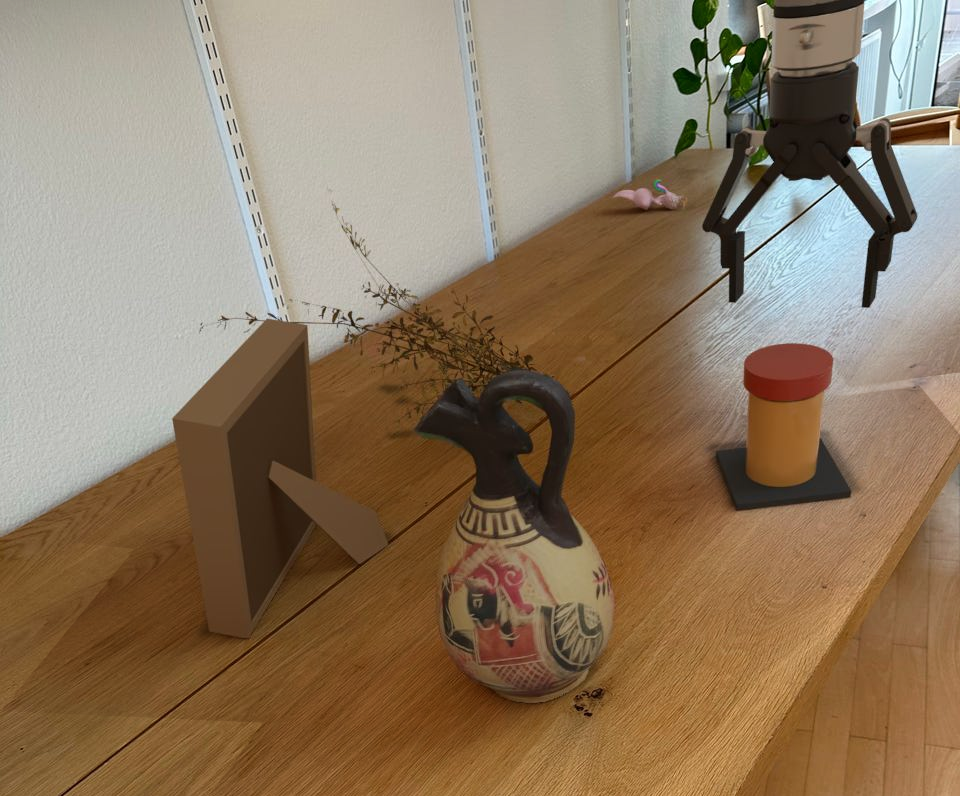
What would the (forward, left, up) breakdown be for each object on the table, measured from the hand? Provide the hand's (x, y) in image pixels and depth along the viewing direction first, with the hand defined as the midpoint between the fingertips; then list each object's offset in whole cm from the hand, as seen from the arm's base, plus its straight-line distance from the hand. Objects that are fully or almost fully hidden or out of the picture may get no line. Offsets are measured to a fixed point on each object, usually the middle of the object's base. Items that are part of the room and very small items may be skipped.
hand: (800, 300), depth 95 cm
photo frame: (+55, +15, -18) cm, 60 cm away
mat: (+2, +6, -17) cm, 18 cm away
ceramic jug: (+30, +35, -18) cm, 49 cm away
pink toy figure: (+3, -101, -18) cm, 103 cm away
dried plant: (+45, -15, -18) cm, 51 cm away
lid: (+2, +6, -4) cm, 8 cm away
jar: (+2, +6, -17) cm, 18 cm away
